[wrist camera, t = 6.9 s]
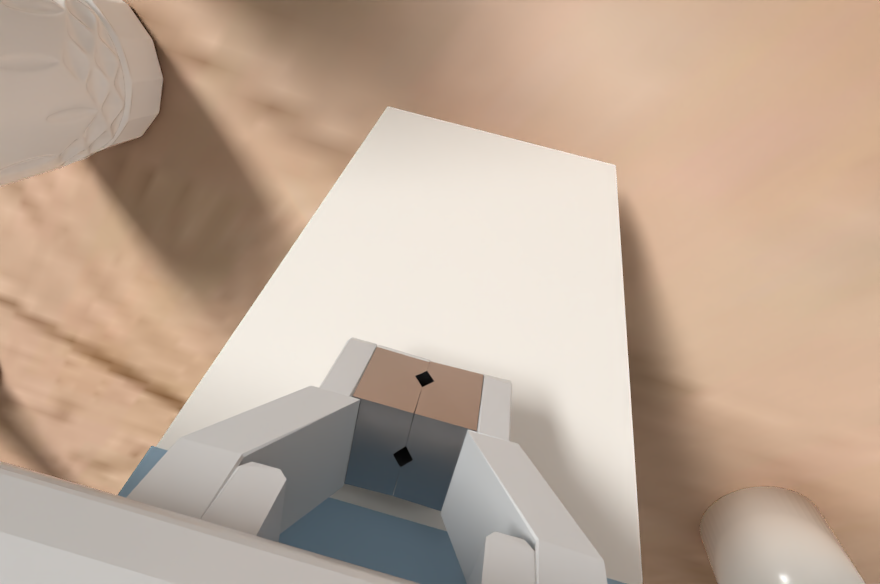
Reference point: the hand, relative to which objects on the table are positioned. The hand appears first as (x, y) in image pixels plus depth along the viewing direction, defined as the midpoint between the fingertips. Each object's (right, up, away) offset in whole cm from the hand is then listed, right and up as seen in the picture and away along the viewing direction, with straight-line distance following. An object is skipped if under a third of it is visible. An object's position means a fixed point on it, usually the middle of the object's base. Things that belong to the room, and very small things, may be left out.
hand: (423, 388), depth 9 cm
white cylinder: (+18, -11, +18) cm, 28 cm away
